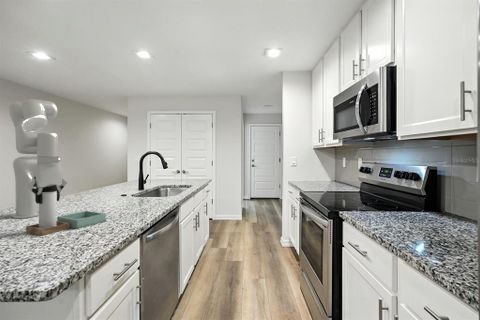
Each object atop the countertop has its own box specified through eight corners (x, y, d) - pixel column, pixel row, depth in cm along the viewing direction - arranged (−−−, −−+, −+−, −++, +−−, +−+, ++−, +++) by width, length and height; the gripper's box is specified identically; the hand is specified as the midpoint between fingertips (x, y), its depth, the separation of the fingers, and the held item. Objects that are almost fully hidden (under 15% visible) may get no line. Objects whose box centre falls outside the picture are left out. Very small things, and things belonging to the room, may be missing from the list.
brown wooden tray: (26, 232, 111) (26, 226, 111) (54, 225, 121) (53, 220, 121) (41, 235, 107) (41, 229, 107) (69, 228, 117) (69, 223, 117)
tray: (57, 225, 122) (57, 216, 122) (86, 218, 135) (86, 210, 135) (77, 229, 116) (77, 220, 116) (105, 221, 130) (105, 213, 129)
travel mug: (60, 227, 117) (61, 183, 117) (48, 231, 111) (48, 184, 110) (47, 226, 118) (48, 182, 118) (34, 231, 111) (35, 184, 111)
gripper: (62, 160, 123) (62, 198, 123) (19, 161, 107) (19, 204, 108) (73, 160, 120) (73, 199, 120) (30, 161, 104) (30, 206, 105)
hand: (47, 201), depth 114 cm, fingers closed on travel mug, 6 cm apart
